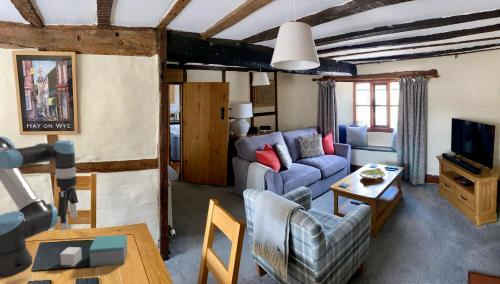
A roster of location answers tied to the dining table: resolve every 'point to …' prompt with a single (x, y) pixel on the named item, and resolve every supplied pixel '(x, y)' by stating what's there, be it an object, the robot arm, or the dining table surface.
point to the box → (108, 257)
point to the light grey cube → (71, 256)
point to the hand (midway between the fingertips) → (69, 223)
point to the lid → (108, 243)
